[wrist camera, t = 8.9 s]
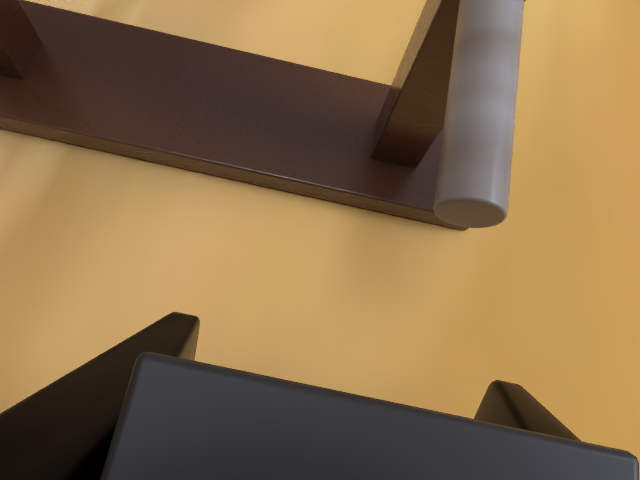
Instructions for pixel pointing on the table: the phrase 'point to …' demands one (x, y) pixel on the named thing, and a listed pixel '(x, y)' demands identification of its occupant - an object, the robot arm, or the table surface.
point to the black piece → (320, 435)
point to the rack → (283, 108)
